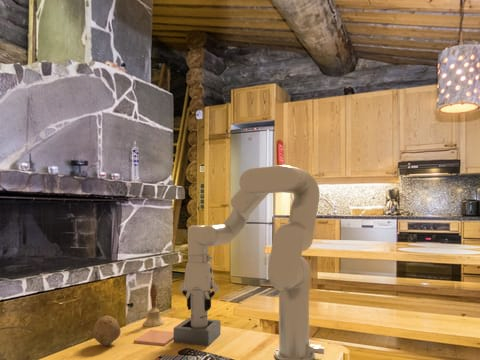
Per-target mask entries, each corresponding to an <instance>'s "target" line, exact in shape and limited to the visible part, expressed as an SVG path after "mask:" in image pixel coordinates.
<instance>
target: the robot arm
mask: <svg viewBox="0 0 480 360" xmlns="http://www.w3.org/2000/svg"><path fill="white" fill-rule="evenodd" d="M238 181H239V184H238V185H239V189H238V190H237V192H235V194H234V195H233V197H232V198H231V199H230V206H231V207H232V211H231V212H230V214H229V215H228V217H227V218H226V219H225V220H224V221H223V223H218V224H210V225H203V224H202V225H201V224H197V225H196V224H195V225H190V226H188V228H187V263H186V264H185V265H186V266H185V269H184V270H185V271H184V281H183V282H182V283H181V284H180V285H179V286H178V290H179V291H180V292H181V293H182V295H183V296H184V297H185V298H186V307H187V310H188V311H191V290H192V289H193V288H194V287H199V288H200V289H201V290H202V291H204V293H205V295H206V300H205V310H206V311H207V312H208V311H209V310H210V309H212V298H213V297H214V296H215V294H216V293H217V292H218V291H219V290H220V286H219V285H217V284H216V282H214V281H215V280H214V271H213V270H214V269H213V265H212V262H211V261H212V260H213V256H212V255H210V252H209V247H216V246H217V247H218V246H222V245H227V244H229V243H231V242H232V241H234V239H235V238H236V237H238V235H240V233H241V232H242V231H243V229H244V228H245V227H246V224H247V222H248V220H249V217H250V215H251V214H252V213H253V212H254V210H256V208H257V207H259V204H261V203H262V201H264V199H265V198H266V197H267V196H268V195H269V194H274V193H275V194H276V193H277V194H278V193H286V194H287V193H288V194H293V201H292V203H291V206H290V210H289V215H288V221H287V223H284V224H282V225H281V226H279V227H278V229H276V231H275V233H274V235H273V239H272V245H271V251H270V256H269V261H268V267H267V277H268V280H269V283H270V285H272V286H273V287H274V288H275V289H277V290H279V294H278V331H279V332H278V334H279V335H278V342H279V343H278V344H279V347H277V348H276V349H275V350H274V357H275V358H276V359H277V360H314V359H315V356H316V354H319V355H324V354H325V347H324V346H323V347H322V346H321V345H320V344H314V343H312V339H310V284H311V283H310V282H311V268H310V264H309V262H308V260H306V258H304V257H303V256H302V255H303V254H302V253H303V252H305V251H307V250H308V249H309V248H311V247H312V244H313V240H314V234H315V227H316V223H317V222H316V221H317V215H318V209H319V205H320V188H319V184H318V182H317V181H316V178H314V177H313V175H311V174H310V173H309V172H308V171H306V170H304V169H302V168H299V167H296V166H292V165H285V164H282V165H281V164H280V165H272V166H271V165H270V166H260V167H252V168H247V169H246V170H245V171H244V172H242V173H241V175H240V176H239V180H238ZM211 290H212V291H211Z"/></svg>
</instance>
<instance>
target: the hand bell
mask: <svg viewBox="0 0 480 360" xmlns="http://www.w3.org/2000/svg"><path fill="white" fill-rule="evenodd" d="M157 295H158V289H157V286H156V283H152V284H151V288H150V298H151V308H150V309H149V310H148V312H147V318H146V320H145V321H143V323H142V325H143V326H144V327H147V326H148V327H147V328H149V327H150V328H153V327H154V326H156V327H160V325H161V326H163V325H164V324H165V321H164V320H162V317H161V312H160V309H158V308H157V300H156V299H157Z"/></svg>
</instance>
